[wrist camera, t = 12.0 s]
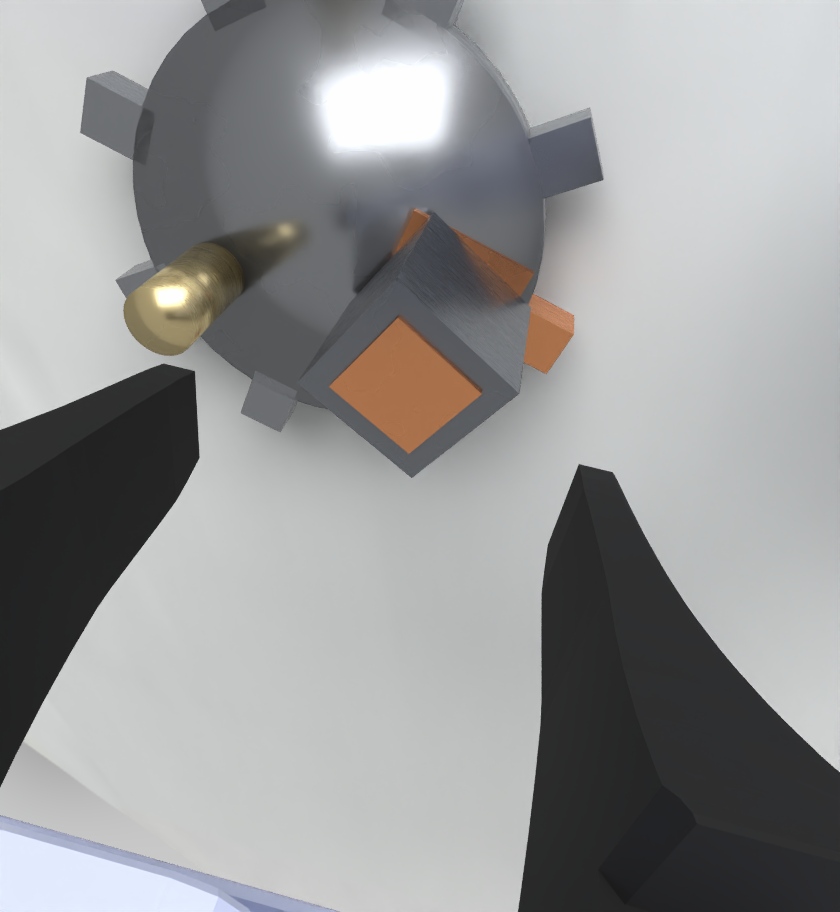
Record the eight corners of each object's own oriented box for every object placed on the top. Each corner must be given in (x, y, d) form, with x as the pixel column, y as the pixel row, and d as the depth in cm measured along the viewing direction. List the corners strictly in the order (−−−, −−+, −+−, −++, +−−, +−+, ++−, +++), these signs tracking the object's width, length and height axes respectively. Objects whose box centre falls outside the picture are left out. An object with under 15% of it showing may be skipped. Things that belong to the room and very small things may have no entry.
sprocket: (520, -233, 13) (498, -300, 10) (645, 380, 20) (659, 469, 17) (5, 43, 18) (-134, 65, 14) (251, 460, 25) (197, 544, 21)
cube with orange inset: (531, 307, 18) (518, 396, 14) (441, 385, 20) (410, 480, 16) (434, 211, 17) (394, 280, 13) (349, 303, 19) (295, 385, 15)
